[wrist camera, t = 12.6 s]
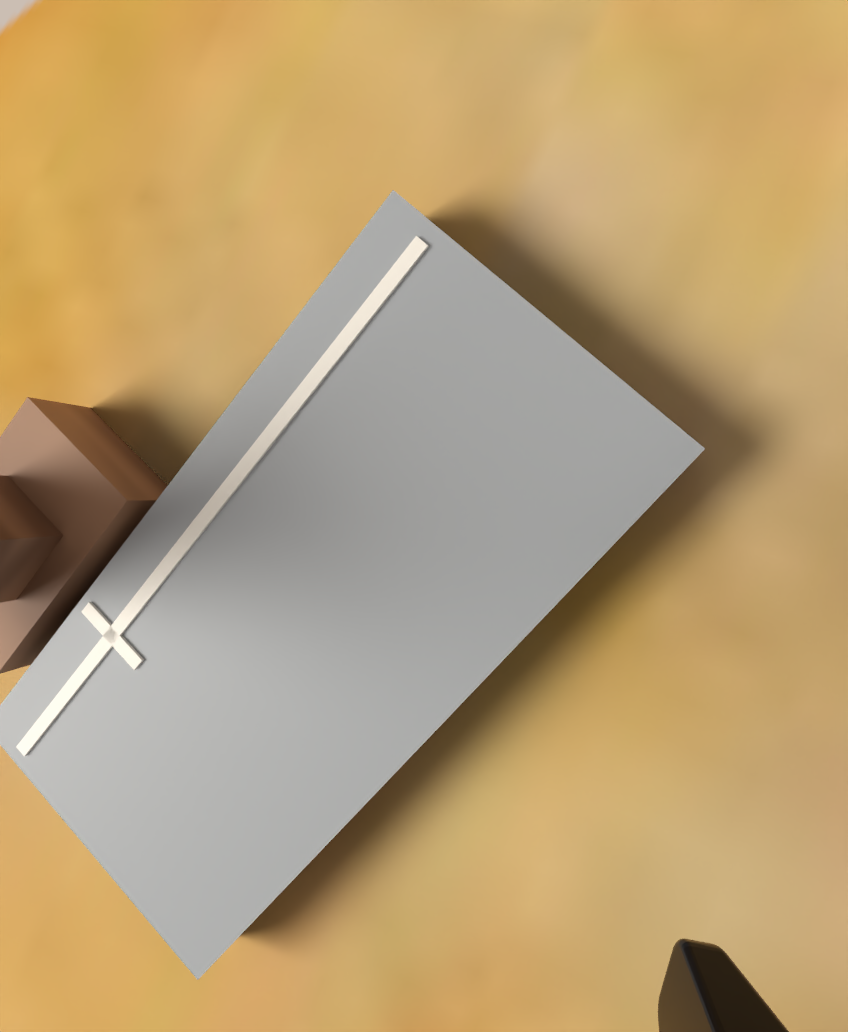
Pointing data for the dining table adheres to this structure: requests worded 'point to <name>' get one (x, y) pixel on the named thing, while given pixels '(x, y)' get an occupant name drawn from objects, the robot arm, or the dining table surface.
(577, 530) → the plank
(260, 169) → the dining table surface
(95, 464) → the newel post
